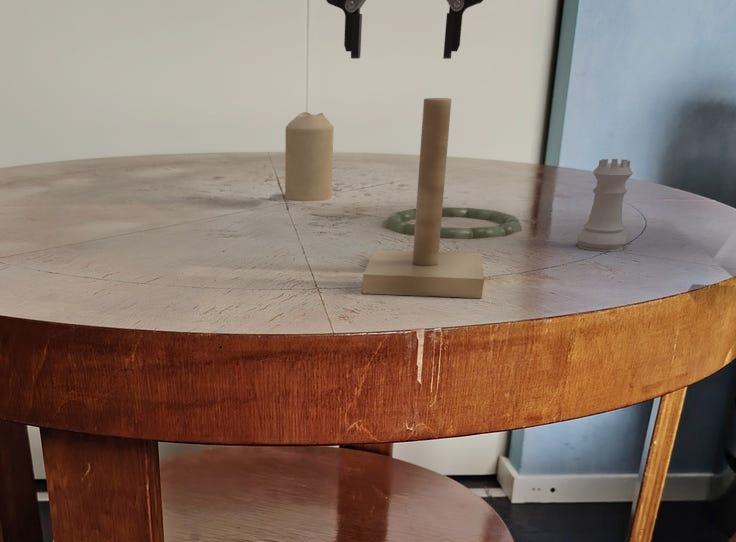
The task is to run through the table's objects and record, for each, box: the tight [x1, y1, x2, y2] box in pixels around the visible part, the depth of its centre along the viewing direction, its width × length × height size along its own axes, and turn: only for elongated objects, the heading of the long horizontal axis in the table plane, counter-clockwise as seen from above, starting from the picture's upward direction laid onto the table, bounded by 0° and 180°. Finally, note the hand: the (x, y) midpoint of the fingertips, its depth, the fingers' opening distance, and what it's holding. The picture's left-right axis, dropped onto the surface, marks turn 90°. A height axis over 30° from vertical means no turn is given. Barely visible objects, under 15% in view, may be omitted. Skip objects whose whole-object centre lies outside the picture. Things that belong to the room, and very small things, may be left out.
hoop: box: [384, 206, 522, 240], centre depth 90 cm, size 13×13×2 cm
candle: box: [284, 111, 334, 202], centre depth 105 cm, size 6×6×10 cm
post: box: [362, 97, 485, 299], centre depth 69 cm, size 9×9×14 cm
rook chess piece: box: [576, 158, 634, 252], centre depth 79 cm, size 4×4×8 cm
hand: (401, 58), depth 84 cm, fingers open, 8 cm apart
